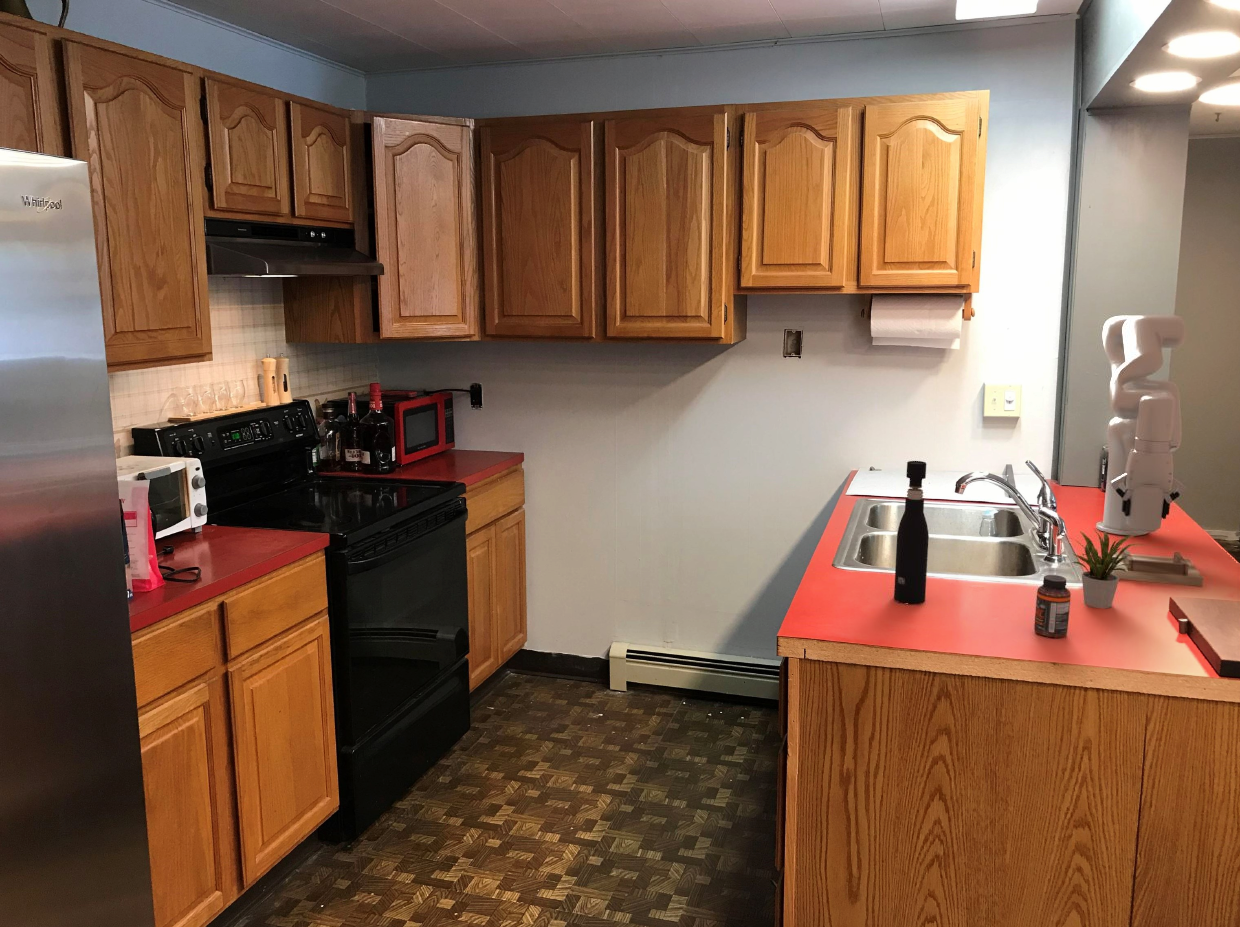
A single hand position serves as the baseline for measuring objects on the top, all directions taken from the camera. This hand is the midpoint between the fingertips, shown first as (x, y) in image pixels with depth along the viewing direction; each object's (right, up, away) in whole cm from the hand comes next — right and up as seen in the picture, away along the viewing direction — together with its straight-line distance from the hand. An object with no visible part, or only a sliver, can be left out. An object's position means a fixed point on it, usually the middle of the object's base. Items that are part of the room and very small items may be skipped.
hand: (1144, 515), depth 239 cm
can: (0, -3, +1) cm, 4 cm away
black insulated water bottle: (-67, -17, -31) cm, 76 cm away
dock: (-5, -13, -12) cm, 18 cm away
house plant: (-27, -17, -35) cm, 47 cm away
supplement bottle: (-46, -20, -51) cm, 71 cm away
